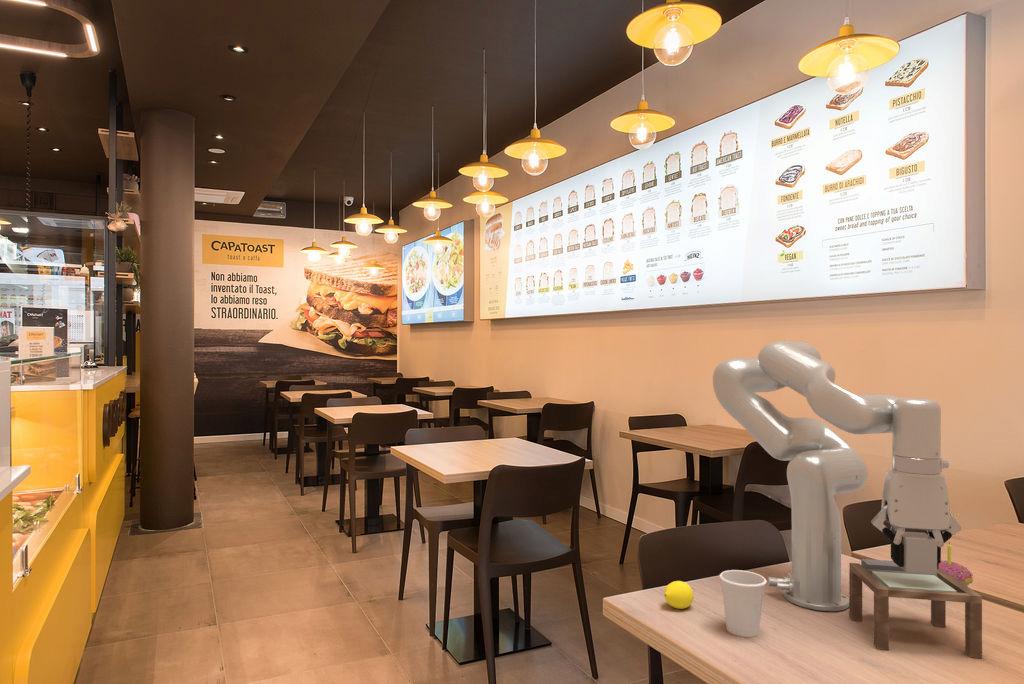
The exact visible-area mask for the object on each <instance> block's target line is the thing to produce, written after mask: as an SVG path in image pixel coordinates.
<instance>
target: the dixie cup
mask: <svg viewBox="0 0 1024 684" xmlns="http://www.w3.org/2000/svg"><path fill="white" fill-rule="evenodd" d="M719 579H720V582H721V591H722V599H723V607H724V608H723V609H724V617H725V626H726V630H727V631H728V632H729V633H730V634H731V635H735V636H737V637H742V638H754V637H756V636H758V635H759V633H760V625H761V624H760V623H761V619H762V618H761V617H762V609H763V602H764V597H765V596H764V595H765V589H766V587H765V586H766V584H768V580H767V579H766V578H765V577H764V576H763V575H761V574H759V573H756V572H752V571H748V570H741V569H740V570H739V569H731V570H730V569H727V570H724V571H722V572H721V573H719Z"/></svg>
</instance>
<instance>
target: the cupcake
mask: <svg viewBox="0 0 1024 684" xmlns="http://www.w3.org/2000/svg"><path fill="white" fill-rule="evenodd" d="M946 549H947V552H946V553H947V557H946V558H947V559H946V560H941V563H939V568H938V569H942V570H944V571H945V572H947V573H948V574H950V575H951V576H953V577H954V578H955V579H957V580H958V581H960V582H961V583H963V584H964V585H966V586H967V587H969V585H970V584H973V582H974V577H973V576H974V575H973V573H972V572H971V571H970V570H969V569H968V568H967V567H965V566H964V565H961V564H959V563H958V562H955V561H952V545H951V542H950V541H948V544H947V548H946Z"/></svg>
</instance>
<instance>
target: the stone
mask: <svg viewBox="0 0 1024 684" xmlns="http://www.w3.org/2000/svg"><path fill="white" fill-rule="evenodd" d="M901 544H902V545H903V546H904V566H903V567H900V568H902V569H903V570H904V571H906V572H912V573H926V574H937V540H936V539H934V538H932V537H931V536H929V535H928V533H926V532H918V531H904V534H903V537H902V540H901Z"/></svg>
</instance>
